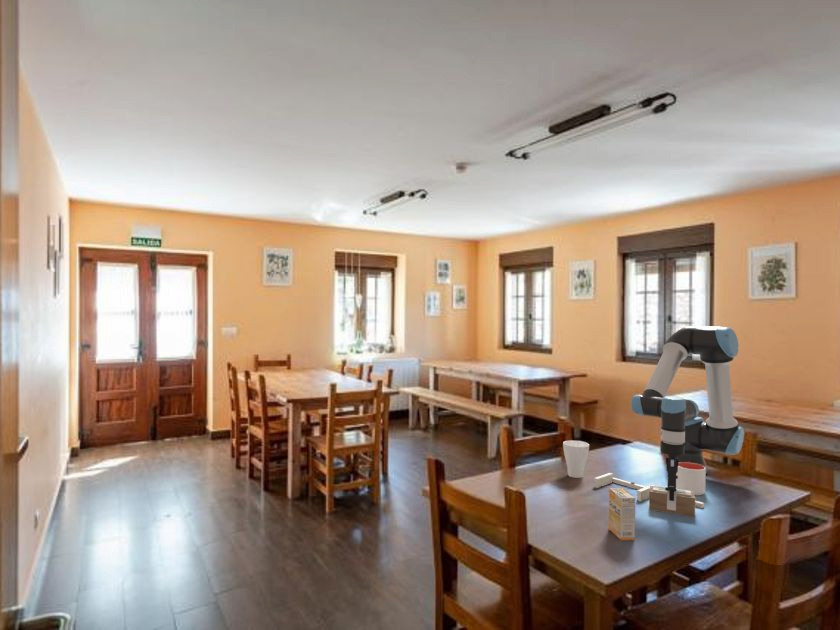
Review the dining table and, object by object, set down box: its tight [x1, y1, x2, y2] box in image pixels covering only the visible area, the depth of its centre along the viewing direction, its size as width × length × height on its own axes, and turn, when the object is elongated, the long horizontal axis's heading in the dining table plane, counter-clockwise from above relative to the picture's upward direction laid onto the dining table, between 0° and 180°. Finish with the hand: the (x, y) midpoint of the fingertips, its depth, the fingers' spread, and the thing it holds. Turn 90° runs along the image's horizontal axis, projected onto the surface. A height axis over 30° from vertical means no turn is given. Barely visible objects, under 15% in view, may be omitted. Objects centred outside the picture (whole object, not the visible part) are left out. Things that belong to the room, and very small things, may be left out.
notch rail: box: [593, 472, 705, 509], centre depth 191 cm, size 12×36×4 cm, turn 39°
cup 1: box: [562, 440, 590, 479], centre depth 214 cm, size 10×10×14 cm
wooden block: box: [648, 484, 696, 518], centre depth 179 cm, size 7×14×7 cm, turn 64°
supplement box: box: [608, 487, 636, 541], centre depth 158 cm, size 8×5×13 cm, turn 5°
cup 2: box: [676, 462, 707, 496], centre depth 197 cm, size 10×10×10 cm
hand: (671, 503), depth 178 cm, fingers open, 13 cm apart
